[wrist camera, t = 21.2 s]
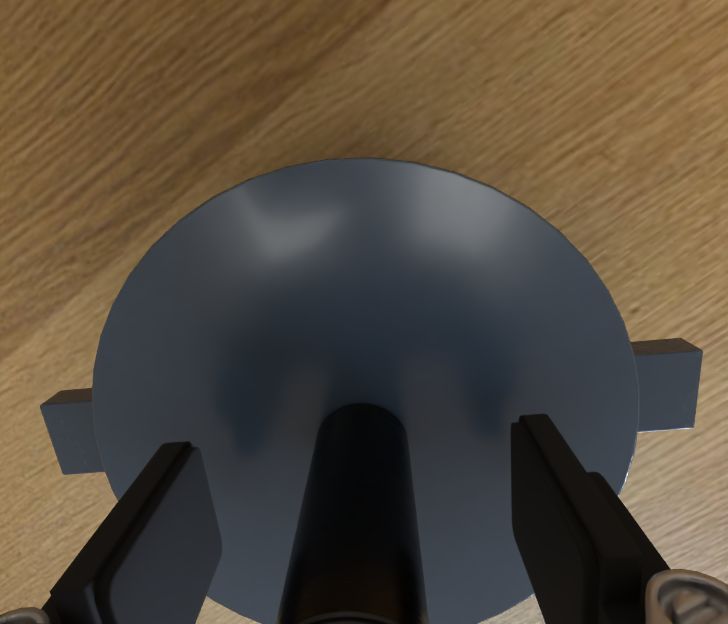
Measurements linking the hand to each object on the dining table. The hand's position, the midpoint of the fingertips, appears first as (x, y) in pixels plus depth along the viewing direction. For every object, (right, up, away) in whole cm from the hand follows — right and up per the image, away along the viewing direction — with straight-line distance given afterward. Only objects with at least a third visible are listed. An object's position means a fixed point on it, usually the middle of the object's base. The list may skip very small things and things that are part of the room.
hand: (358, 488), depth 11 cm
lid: (0, +1, +2) cm, 2 cm away
